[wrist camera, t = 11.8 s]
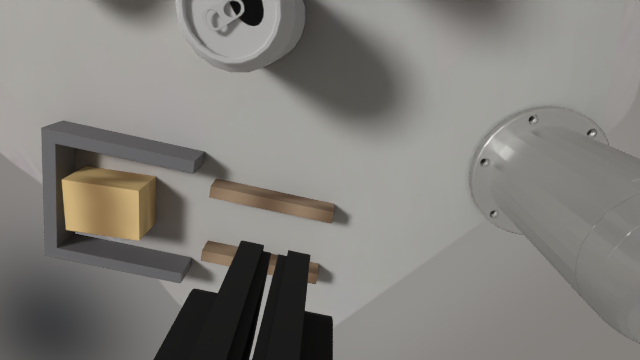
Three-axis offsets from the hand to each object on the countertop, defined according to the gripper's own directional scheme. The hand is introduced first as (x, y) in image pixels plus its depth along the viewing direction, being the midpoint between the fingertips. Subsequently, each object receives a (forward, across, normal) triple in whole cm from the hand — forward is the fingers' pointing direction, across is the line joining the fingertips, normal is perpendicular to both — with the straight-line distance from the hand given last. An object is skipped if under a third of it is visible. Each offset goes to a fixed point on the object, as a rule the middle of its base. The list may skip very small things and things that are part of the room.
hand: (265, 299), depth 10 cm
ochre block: (+29, +17, +14) cm, 37 cm away
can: (+29, +6, -6) cm, 31 cm away
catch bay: (+29, +16, +14) cm, 36 cm away
